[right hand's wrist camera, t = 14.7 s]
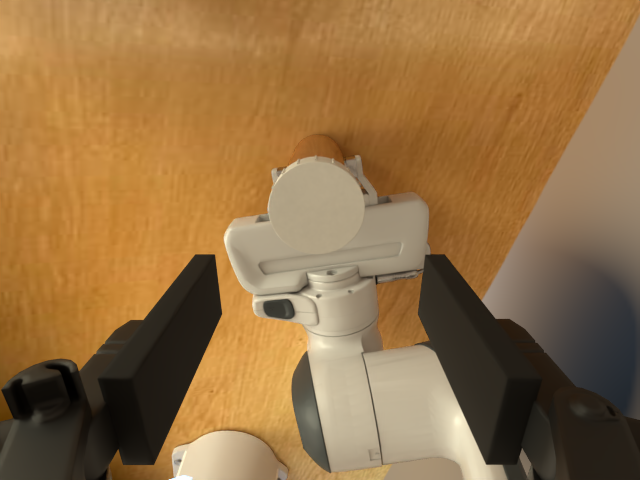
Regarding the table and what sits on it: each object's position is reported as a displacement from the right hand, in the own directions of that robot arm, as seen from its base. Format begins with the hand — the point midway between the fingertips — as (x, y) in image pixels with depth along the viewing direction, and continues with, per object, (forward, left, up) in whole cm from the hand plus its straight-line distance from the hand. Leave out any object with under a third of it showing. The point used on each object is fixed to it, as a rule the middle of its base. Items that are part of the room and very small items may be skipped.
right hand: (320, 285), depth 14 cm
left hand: (-1, -1, -21) cm, 21 cm away
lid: (0, 0, -9) cm, 9 cm away
